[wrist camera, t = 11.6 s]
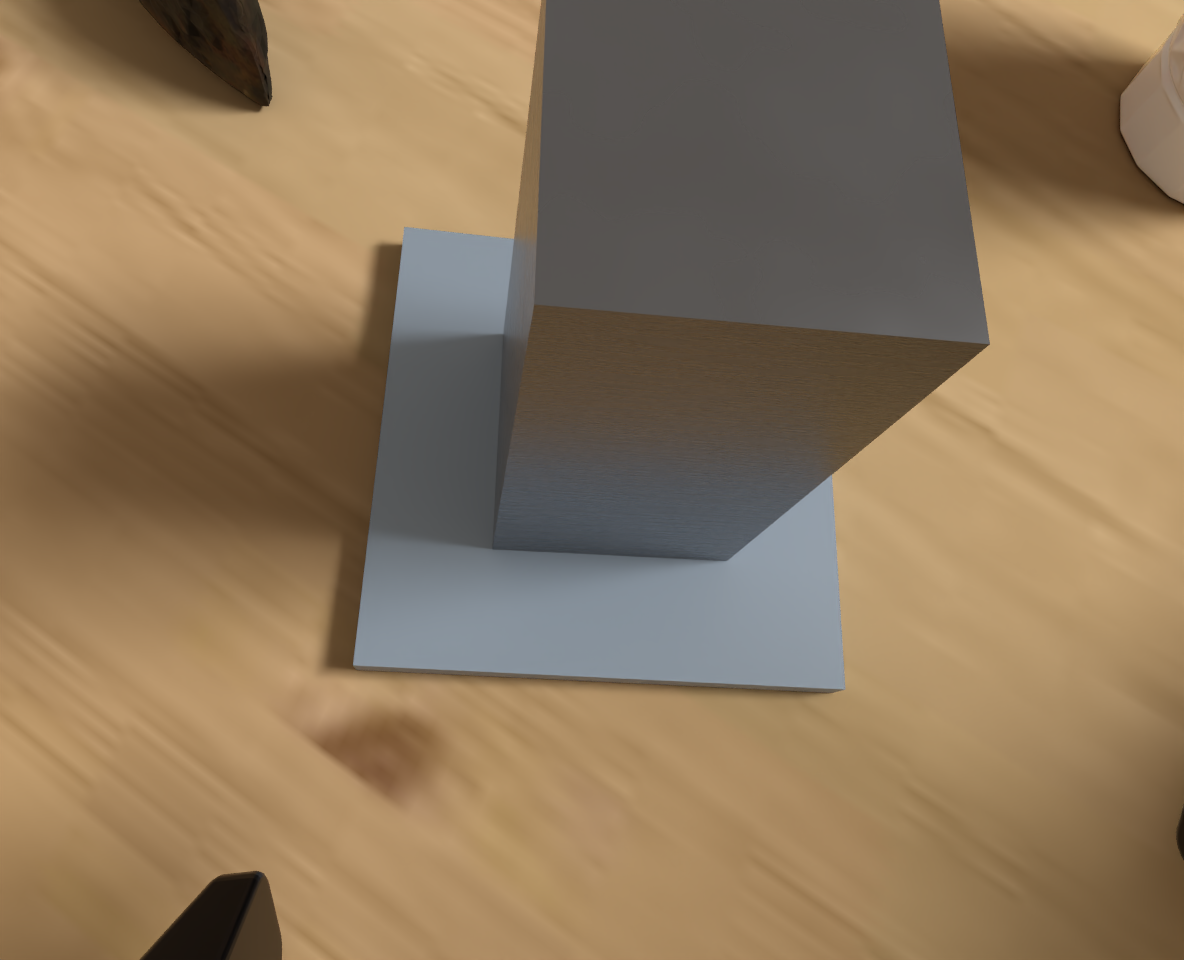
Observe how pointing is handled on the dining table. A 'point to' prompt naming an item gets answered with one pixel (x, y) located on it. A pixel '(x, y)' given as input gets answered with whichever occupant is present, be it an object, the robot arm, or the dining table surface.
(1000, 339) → the dining table surface
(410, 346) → the base block
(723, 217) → the grey block
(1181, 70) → the white cup
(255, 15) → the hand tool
